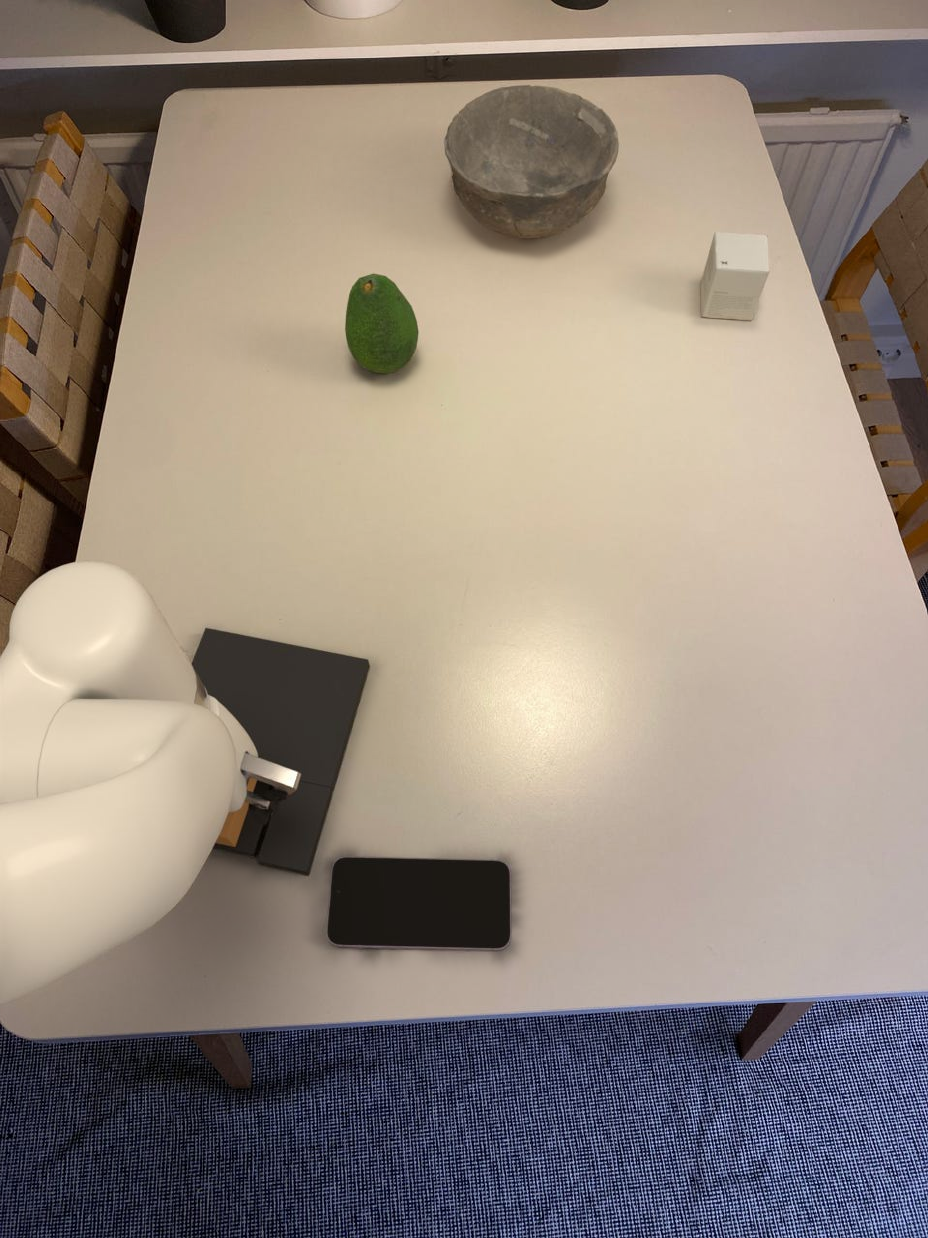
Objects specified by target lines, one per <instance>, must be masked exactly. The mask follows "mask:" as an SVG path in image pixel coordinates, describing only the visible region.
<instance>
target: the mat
mask: <svg viewBox="0 0 928 1238" xmlns="http://www.w3.org/2000/svg"><path fill="white" fill-rule="evenodd" d="M191 664H192V666H193V668H194V669H195V671H196V673H197V674H198V676H199V678H200V680H201V681H202V683H203V685H204V687H205V688H206V691H207V694H208V695H210V696H212V697H214V698H215V699H216V700H217V701H218V702H220V703H221V704H222V705H223V706H224V707H225V708H226V709H227V710H228V711H229V712H230V713H231V714H232V715H233V716H234V717H235V719H236V720H237V721H238V722H239V723H240V725H241V726H242V727H243V728H244V730H245V731H246V732H247V734H248V735H249V737H250V738H251V740H252V742H253V744H254V746H255V748H256V750H257V753H258V758H261V759H264V760H267V761H269V762H272V763H275V764H278V765H280V766H283V767H286V768H289V769H291V770H294V771H297V772H299V773H301V777H300V780H299V783H298V786H297V789H296V791H295V792H293V793H292V794H290V795H289V794H288V796H287V799H286V800H282V801H280V805H279V808H278V810H277V812H276V813H275V814H274V813H271V815H270V818H269V821H268V824H267V825H268V826H267V827H266V828H267V829H266V830H265V834H264V837H263V840H262V843H261V846H260V847H261V848H260V849H259V852H258V853H259V854H258V856H257V860H256V861H257V863H259V865H260V866H263V867H267V868H271V869H272V868H273V869H275V870H280V871H285V872H290V873H295V874H300V875H304V876H310V873H311V870H312V867H313V863H314V860H315V857H316V853H317V850H318V846H319V842H320V839H321V836H322V832H323V829H324V825H325V822H326V819H327V818H326V817H327V815H328V811H329V808H330V804H331V801H332V798H333V794H334V791H335V787H336V784H337V780H338V777H339V773H340V770H341V767H342V764H343V760H344V756H345V754H346V749H347V747H348V743H349V739H350V736H351V734H352V733H351V732H352V729H353V725H354V723H355V719H356V715H357V712H358V709H359V705H360V701H361V698H362V695H363V692H364V688H365V684H366V681H367V677H368V673H369V670H370V668H371V667H370V661H369V659H368V658H364V657H363V658H362V657H359V656H352V655H347V654H341V653H337V652H332V651H326V650H321V649H316V648H311V647H307V646H301V645H296V644H292V643H287V642H281V641H275V640H271V639H265V638H260V637H255V636H251V635H245V634H239V633H235V632H230V631H225V630H219V629H215V628H210V627H205V628H204V631H203V633H202V635H201V639H200V641H199V644H198V646H197V648H196V651H195V654H194V656H193V659H192V661H191Z"/></svg>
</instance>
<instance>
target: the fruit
mask: <svg viewBox="0 0 928 1238" xmlns="http://www.w3.org/2000/svg"><path fill="white" fill-rule="evenodd" d="M347 298H348V299H347V305H346V310H345V324H344V332H345V338H346V343H347V347H348V350H349V352H350V354H351V356H352V358H353V359H354V361H356V362H357V364H358V365H359V366H360V367H362V368H364V369H366V370H368V371H370V372H373V373H376V374H389V373H393V372H397V371H399V370H401V369H402V368H404V367H405V366H406V365H407V364H408V363H409V362H410V361H411V359H412V358H413V356H414V354H415V352H416V350H417V346H418V340H419V326H418V321H417V317H416V314H415V312H414V309H413V306H412V305H411V303H410V301H408V299H407V298H406V296H405V295H404V293H403V292H402V291H401V290H400V289H399V287H398V285H397V284H396V283H395V282H394V281H393V280H392V279H391V278H389V277H388V276H386V275H383V274H378V273H374V272H373V273H369V274H367V275H364V276H361V277H359V278H358V279H357V280H356V281H355V283H354V284H353V285H352V286H351V289H350V291H349V294H348V297H347Z"/></svg>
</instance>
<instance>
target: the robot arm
mask: <svg viewBox="0 0 928 1238" xmlns="http://www.w3.org/2000/svg"><path fill="white" fill-rule="evenodd" d="M8 632H9V633H8V642H7V644H6V646H5V648H4V650H3V651H2V653H1V654H0V1007H2V1006H5V1005H7V1004H10V1003H12V1002H14V1001H16V1000H19V999H22V998H23V997H25V996H28V995H31V993H34V992H36V991H38V990H40V989H42V988H45V987H47V986H49V985H51V984H52V983H55V982H56V981H58V980H61V979H62V978H65V977H67V976H68V975H69V974H71V973H74V972H75V971H77V970H78V969H81V968H82V967H84V966H86V965H87V964H89V963H91V962H93V961H94V960H96V959H98V958H100V957H102V956H104V955H106V954H107V953H109V952H111V951H113V950H115V949H117V948H118V947H120V946H122V945H123V944H125V943H127V942H130V940H132V939H134V938H135V937H137V936H138V935H140V934H142V933H144V932H146V930H148V929H149V928H151V927H152V926H153V925H155V924H156V923H158V922H159V921H160V920H162V919H163V918H164V917H165V916H166V915H167V914H169V912H170V911H172V910H173V908H174V907H176V906H177V904H179V903H180V902H181V900H182V899H183V898H184V897H185V895H186V894H187V893H188V891H189V890H190V888H191V887H192V885H193V883H194V882H195V881H196V879H197V877H198V875H199V873H200V871H201V870H202V868H203V866H204V864H205V863H206V861H207V859H208V857H209V856H210V854H211V853H212V851H213V849H214V848H213V846H214V844H215V842H216V840H217V838H218V836H219V834H220V832H221V830H222V828H223V825H224V823H225V820H226V818H227V815H228V812H234V811H237V810H239V809H240V808H241V807H242V805H243V803H244V801H245V802H247V803H249V806H248V809H249V811H250V812H251V814H252V815H253V817H254V818H255V820H256V821H257V822H258V823H259V824H261V825H266V824H267V825H268V823H269V820H270V817H271V814H272V813H274V814H275V813H276V812H277V810H278V808H279V805H280V801H282V800H286V799H287V796H288V794H289V795H290V794H292V793H293V792H295V791H296V789H297V786H298V783H299V780H300V777H301V773H299V772H297V771H294V770H291V769H289V768H286V767H283V766H280V765H278V764H275V763H272V762H269V761H267V760H264V759H261V758H258V753H257V750H256V748H255V746H254V744H253V742H252V740H251V738H250V737H249V735H248V734H247V732H246V731H245V730H244V728H243V727H242V726H241V725H240V723H239V722H238V721H237V720H236V719H235V717H234V716H233V715H232V714H231V713H230V712H229V711H228V710H227V709H226V708H225V707H224V706H223V705H222V704H221V703H220V702H218V701H217V700H216V699H215V698H214V697H212V696H210V695H208V694H207V691H206V688H205V687H204V685H203V683H202V681H201V680H200V678H199V676H198V674H197V673H196V671H195V669H194V668H193V666H192V662H191V661H190V659H189V658H188V656H187V654H186V652H185V650H184V649H183V647H182V645H181V644H180V642H179V641H178V639H177V637H176V635H175V633H174V632H173V630H172V628H171V627H170V625H169V623H168V621H167V620H166V618H165V617H164V615H163V613H162V611H161V609H160V608H159V606H158V605H157V602H156V600H155V599H154V597H153V596H152V594H151V593H150V591H149V590H148V588H147V587H146V586H145V584H144V583H143V582H142V581H141V580H140V579H139V578H137V576H135V575H134V574H133V573H132V572H131V571H129V570H128V569H126V568H123V567H122V566H119V565H116V564H114V563H111V562H106V561H101V560H81V561H73V562H69V563H66V564H63V565H60V566H58V567H55V568H52V569H50V570H48V571H47V572H45V573H43V574H42V575H41V576H39V577H38V578H37V579H36V580H34V581H33V582H32V583H31V584H30V585H29V586H28V587H27V588H26V589H25V590H24V591H23V593H22V594H21V596H19V599H18V600H17V602H16V604H15V606H14V608H13V610H12V612H11V617H10V620H9V631H8ZM250 778H253V779H256V780H257V782H256V785H255V788H254V791H253V792H251V791H249V790H247V784H248V781H249V779H250ZM267 822H268V823H267Z"/></svg>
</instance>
